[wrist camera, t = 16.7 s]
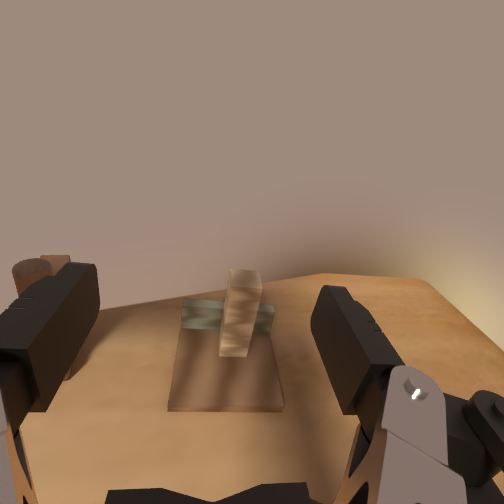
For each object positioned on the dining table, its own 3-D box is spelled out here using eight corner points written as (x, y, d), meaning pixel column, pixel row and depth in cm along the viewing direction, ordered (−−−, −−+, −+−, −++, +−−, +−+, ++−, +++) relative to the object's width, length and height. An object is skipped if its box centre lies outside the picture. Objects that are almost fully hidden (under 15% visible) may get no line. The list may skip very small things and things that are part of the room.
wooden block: (81, 326, 48) (66, 230, 39) (69, 381, 39) (47, 274, 31) (55, 328, 46) (34, 230, 38) (37, 386, 38) (5, 276, 29)
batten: (218, 356, 45) (230, 286, 39) (219, 335, 49) (230, 268, 43) (246, 357, 46) (262, 289, 40) (244, 336, 50) (259, 271, 43)
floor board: (167, 411, 38) (169, 380, 35) (181, 326, 52) (183, 298, 49) (281, 412, 41) (292, 383, 38) (265, 330, 54) (272, 304, 51)
